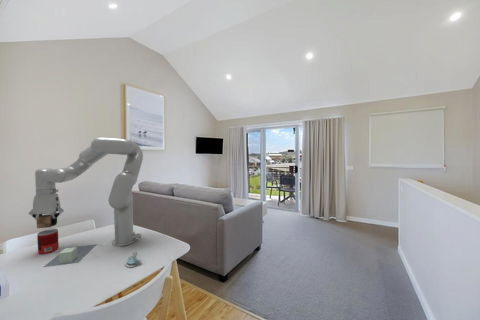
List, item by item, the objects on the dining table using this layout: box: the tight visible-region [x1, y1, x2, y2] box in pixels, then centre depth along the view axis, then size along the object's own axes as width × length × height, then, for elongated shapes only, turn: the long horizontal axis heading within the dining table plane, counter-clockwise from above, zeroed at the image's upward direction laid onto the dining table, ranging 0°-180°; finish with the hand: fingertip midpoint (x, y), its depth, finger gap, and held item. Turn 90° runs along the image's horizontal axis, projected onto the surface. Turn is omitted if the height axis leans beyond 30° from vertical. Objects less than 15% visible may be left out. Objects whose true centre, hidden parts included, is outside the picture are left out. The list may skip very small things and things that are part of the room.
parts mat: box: [43, 243, 98, 268], centre depth 103 cm, size 14×20×1 cm
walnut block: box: [36, 214, 53, 229], centre depth 106 cm, size 6×6×6 cm
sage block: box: [58, 246, 77, 264], centre depth 97 cm, size 5×5×5 cm
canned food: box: [36, 228, 60, 255], centre depth 107 cm, size 8×8×11 cm
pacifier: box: [124, 249, 142, 268], centre depth 94 cm, size 7×6×6 cm
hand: (47, 225), depth 106 cm, fingers closed on walnut block, 5 cm apart
